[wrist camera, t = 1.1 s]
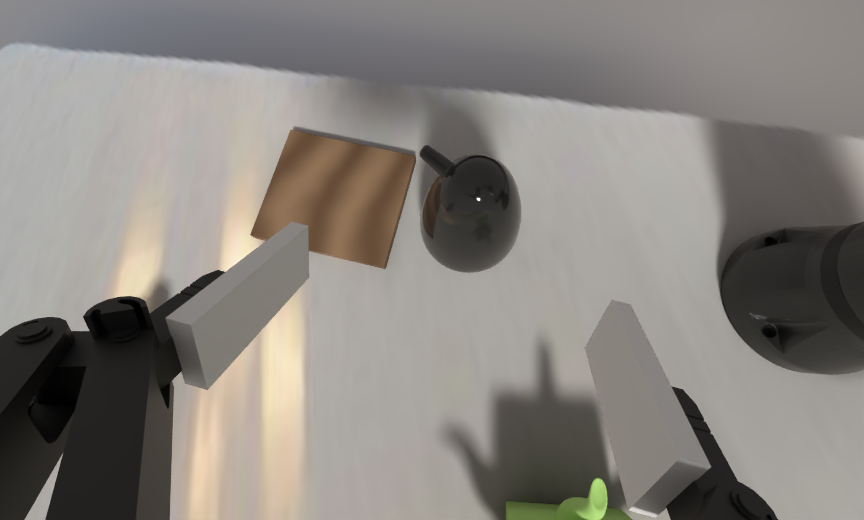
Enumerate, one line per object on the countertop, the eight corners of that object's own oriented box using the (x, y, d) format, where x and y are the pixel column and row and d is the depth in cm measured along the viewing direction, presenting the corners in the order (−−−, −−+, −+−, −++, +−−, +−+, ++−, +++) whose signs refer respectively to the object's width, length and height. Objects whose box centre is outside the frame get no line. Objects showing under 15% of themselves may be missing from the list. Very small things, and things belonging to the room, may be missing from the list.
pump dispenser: (451, 179, 43) (455, 91, 28) (526, 223, 41) (573, 154, 26) (404, 248, 41) (382, 192, 26) (481, 296, 39) (504, 266, 24)
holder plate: (416, 161, 43) (415, 156, 42) (385, 269, 40) (383, 266, 39) (294, 135, 45) (290, 130, 43) (255, 238, 41) (250, 235, 40)
